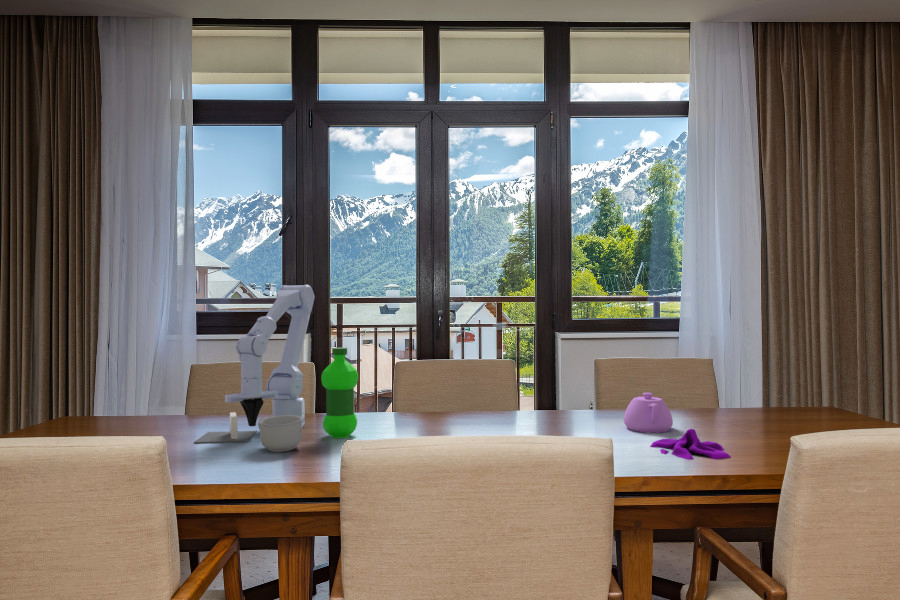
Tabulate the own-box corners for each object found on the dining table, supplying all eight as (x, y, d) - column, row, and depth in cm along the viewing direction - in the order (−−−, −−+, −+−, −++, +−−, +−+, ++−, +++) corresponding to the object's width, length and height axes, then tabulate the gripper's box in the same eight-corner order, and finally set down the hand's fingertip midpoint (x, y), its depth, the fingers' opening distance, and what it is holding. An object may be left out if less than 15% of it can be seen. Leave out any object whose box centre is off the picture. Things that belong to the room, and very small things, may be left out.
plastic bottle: (318, 434, 181) (317, 347, 181) (353, 431, 185) (353, 346, 185) (325, 441, 171) (325, 350, 171) (363, 437, 176) (362, 348, 176)
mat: (256, 432, 184) (256, 430, 184) (246, 442, 172) (246, 440, 172) (207, 433, 183) (207, 432, 183) (193, 443, 170) (193, 442, 170)
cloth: (645, 442, 170) (645, 419, 170) (718, 445, 166) (718, 421, 166) (656, 463, 148) (656, 437, 148) (741, 467, 144) (740, 440, 144)
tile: (237, 438, 174) (237, 416, 174) (231, 438, 174) (231, 417, 174) (235, 432, 182) (235, 412, 182) (229, 433, 181) (229, 412, 181)
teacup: (310, 449, 163) (309, 418, 163) (271, 456, 155) (271, 424, 155) (283, 441, 173) (283, 412, 173) (246, 447, 165) (246, 417, 165)
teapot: (662, 421, 195) (661, 387, 195) (681, 435, 175) (680, 397, 175) (617, 421, 196) (616, 387, 196) (630, 435, 176) (630, 397, 176)
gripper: (271, 374, 186) (271, 420, 186) (221, 378, 177) (221, 426, 177) (280, 376, 180) (280, 424, 180) (229, 380, 171) (229, 430, 171)
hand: (252, 425), depth 178 cm, fingers closed
